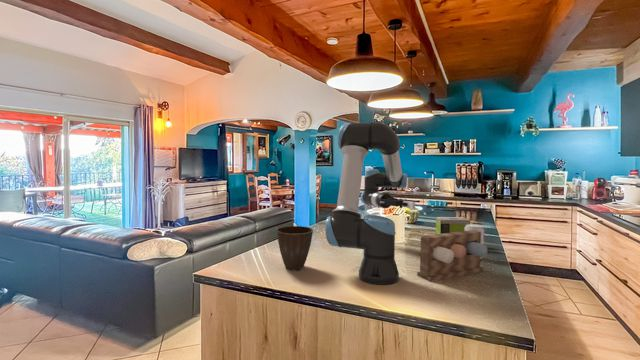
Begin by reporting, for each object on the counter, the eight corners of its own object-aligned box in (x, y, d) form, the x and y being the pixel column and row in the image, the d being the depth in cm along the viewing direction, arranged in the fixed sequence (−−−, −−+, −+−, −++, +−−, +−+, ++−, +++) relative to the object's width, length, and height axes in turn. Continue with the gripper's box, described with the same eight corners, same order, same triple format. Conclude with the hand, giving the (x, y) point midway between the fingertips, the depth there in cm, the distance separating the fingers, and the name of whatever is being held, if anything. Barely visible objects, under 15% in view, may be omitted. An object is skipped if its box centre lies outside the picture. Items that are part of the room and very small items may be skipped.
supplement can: (477, 255, 160) (478, 224, 159) (486, 260, 151) (487, 227, 150) (460, 255, 159) (461, 223, 158) (468, 260, 151) (469, 227, 150)
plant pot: (317, 263, 144) (317, 227, 143) (306, 275, 130) (306, 234, 129) (284, 260, 148) (284, 225, 147) (270, 271, 134) (270, 232, 133)
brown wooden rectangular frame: (430, 281, 124) (431, 239, 123) (417, 275, 130) (418, 235, 129) (482, 271, 136) (484, 232, 135) (468, 266, 142) (469, 229, 141)
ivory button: (443, 263, 121) (443, 250, 121) (425, 257, 129) (426, 244, 129) (453, 262, 123) (454, 248, 123) (435, 255, 131) (435, 243, 131)
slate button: (478, 258, 129) (478, 245, 128) (459, 252, 137) (459, 240, 137) (487, 256, 131) (487, 244, 131) (468, 250, 139) (468, 238, 139)
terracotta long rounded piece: (456, 259, 127) (456, 246, 127) (438, 253, 135) (438, 240, 135) (465, 257, 129) (466, 244, 129) (447, 251, 137) (448, 239, 137)
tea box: (463, 243, 181) (464, 216, 180) (470, 248, 171) (471, 220, 170) (435, 242, 183) (435, 216, 182) (439, 247, 173) (440, 219, 172)
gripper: (392, 207, 172) (424, 213, 151) (371, 208, 167) (401, 214, 145) (392, 192, 172) (425, 196, 151) (371, 193, 166) (402, 197, 145)
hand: (413, 205), depth 148 cm, fingers closed
